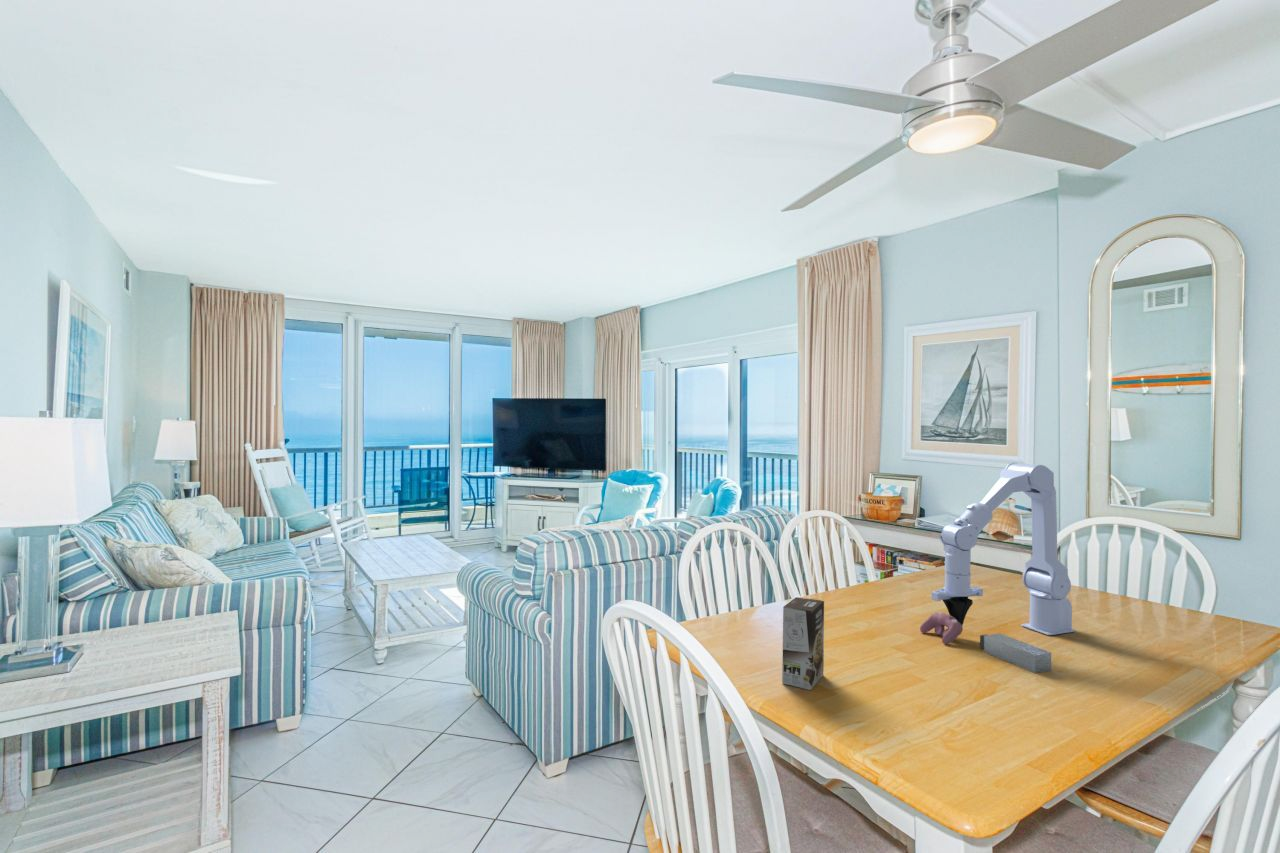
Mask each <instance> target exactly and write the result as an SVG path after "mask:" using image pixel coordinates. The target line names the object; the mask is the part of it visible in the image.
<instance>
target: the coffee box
mask: <svg viewBox="0 0 1280 853" xmlns="http://www.w3.org/2000/svg"><path fill="white" fill-rule="evenodd" d="M782 609H783V610H782V614H783V615H782V667H781V668H782V669H781V670H782V673H781V674H782V675H781V679H782V680H781V683H782V684H784V685H789V686H793V687H796V688H801V689H802V690H803V689H804V690H808V691H811V690H813V688H814V687H815V686H816V685H817V683H819V681H820V680H821V679H822V678H823V676H824V667H825V665H824V664H825V663H824V659H825V658H824V657H825V656H824V654H825V653H824V652H825V651H824V650H825V647H824V645H825V643H824V642H825V640H824V639H825V634H824V633H825V631H824V630H825V628H824V627H825V626H824V625H825V601H824V600H821V599H814V598H813V599H812V598H803V597H795V598H793V599H792V600H791V601H790V602H788V603H786V604H785V605H784V606H783V608H782Z"/></svg>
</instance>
